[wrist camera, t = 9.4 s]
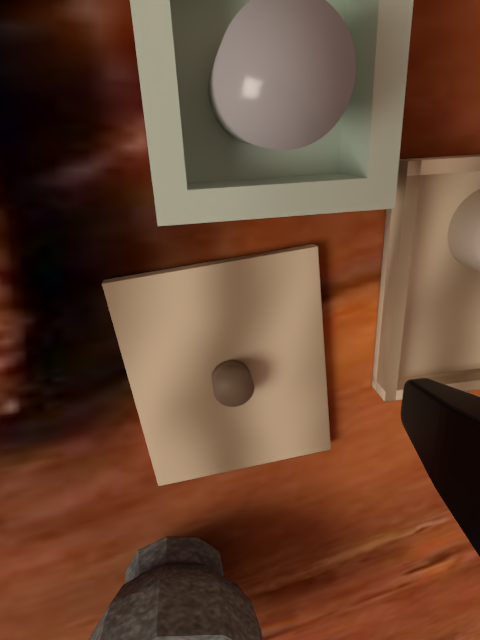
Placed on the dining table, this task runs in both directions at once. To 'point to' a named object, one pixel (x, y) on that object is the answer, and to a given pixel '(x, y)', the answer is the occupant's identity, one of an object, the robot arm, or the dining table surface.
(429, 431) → the robot arm
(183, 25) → the sage bin
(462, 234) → the pale pebble
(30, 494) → the dining table surface
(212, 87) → the grey rounded piece
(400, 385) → the birch tray
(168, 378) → the tray lid
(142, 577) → the mortar and pestle
